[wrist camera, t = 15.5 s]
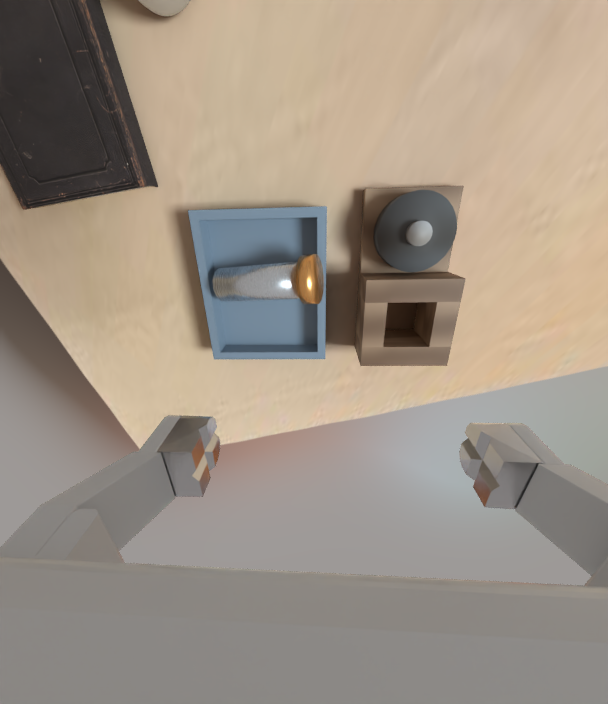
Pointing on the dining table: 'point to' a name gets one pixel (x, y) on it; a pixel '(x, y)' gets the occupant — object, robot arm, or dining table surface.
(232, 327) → the tray
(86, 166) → the hardcover book
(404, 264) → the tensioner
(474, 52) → the dining table surface
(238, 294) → the pin
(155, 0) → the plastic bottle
